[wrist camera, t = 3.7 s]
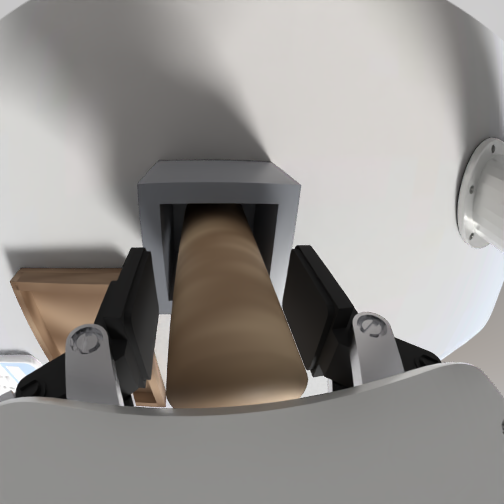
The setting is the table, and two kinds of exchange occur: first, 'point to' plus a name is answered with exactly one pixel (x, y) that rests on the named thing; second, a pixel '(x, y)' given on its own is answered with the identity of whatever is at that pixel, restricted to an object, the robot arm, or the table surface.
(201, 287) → the dowel
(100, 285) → the tray
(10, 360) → the calculator
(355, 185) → the table surface
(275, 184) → the pen cup
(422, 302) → the table surface
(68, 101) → the table surface
